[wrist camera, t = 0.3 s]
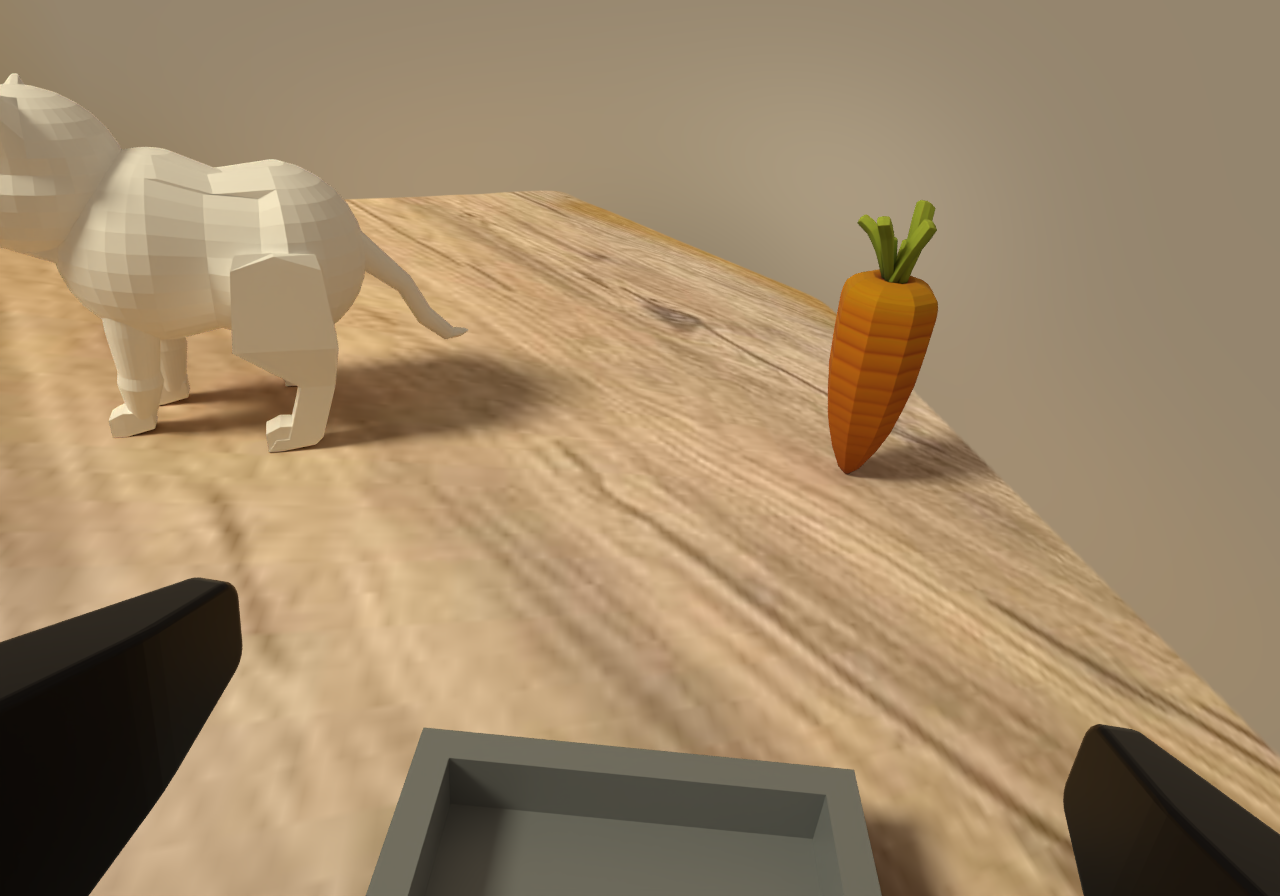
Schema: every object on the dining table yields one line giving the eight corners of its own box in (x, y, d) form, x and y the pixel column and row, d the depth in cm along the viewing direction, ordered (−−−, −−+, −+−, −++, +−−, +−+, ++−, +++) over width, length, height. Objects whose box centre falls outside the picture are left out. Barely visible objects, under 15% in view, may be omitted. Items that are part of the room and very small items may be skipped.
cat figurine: (453, 361, 56) (448, 89, 47) (484, 436, 47) (485, 122, 39) (0, 386, 47) (-99, 60, 39) (-60, 484, 39) (-203, 93, 30)
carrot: (824, 498, 45) (891, 215, 37) (788, 452, 49) (842, 188, 42) (907, 494, 46) (988, 219, 39) (865, 449, 50) (931, 193, 43)
